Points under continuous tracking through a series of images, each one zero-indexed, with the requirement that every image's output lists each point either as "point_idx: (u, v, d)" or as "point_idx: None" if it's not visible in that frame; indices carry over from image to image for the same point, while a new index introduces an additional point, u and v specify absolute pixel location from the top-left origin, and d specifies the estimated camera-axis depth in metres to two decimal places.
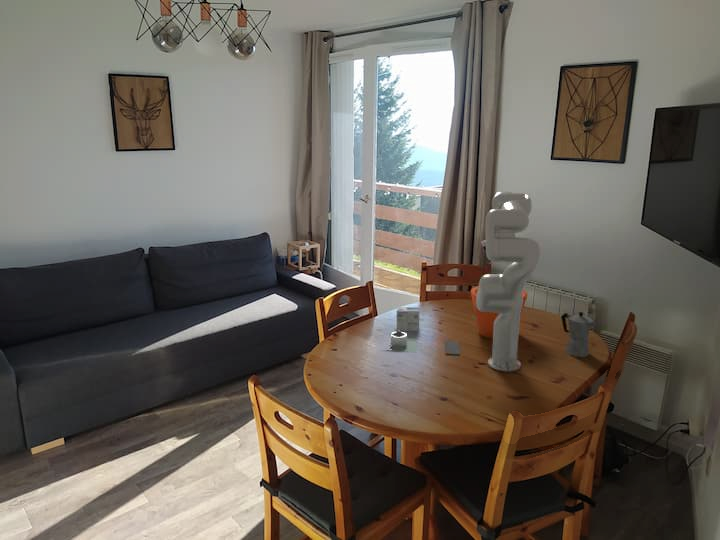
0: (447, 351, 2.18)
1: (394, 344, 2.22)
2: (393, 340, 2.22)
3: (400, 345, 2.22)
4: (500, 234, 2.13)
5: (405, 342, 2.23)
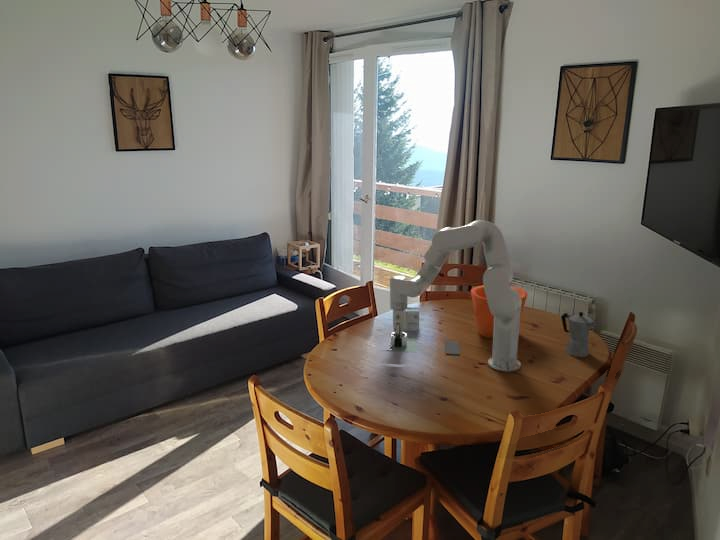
0: (447, 351, 2.18)
1: None
2: (393, 340, 2.22)
3: None
4: None
5: (405, 342, 2.23)
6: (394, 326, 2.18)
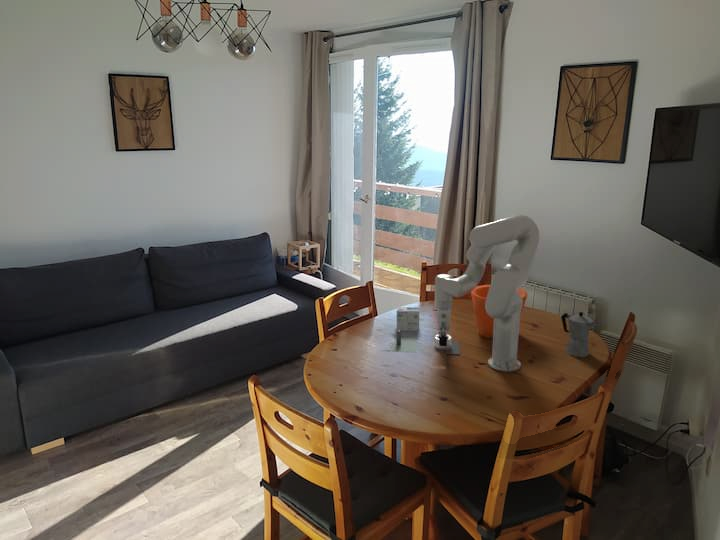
0: (447, 351, 2.18)
1: (439, 347, 2.20)
2: (438, 343, 2.20)
3: (445, 348, 2.19)
4: None
5: (450, 345, 2.20)
6: (439, 324, 2.15)
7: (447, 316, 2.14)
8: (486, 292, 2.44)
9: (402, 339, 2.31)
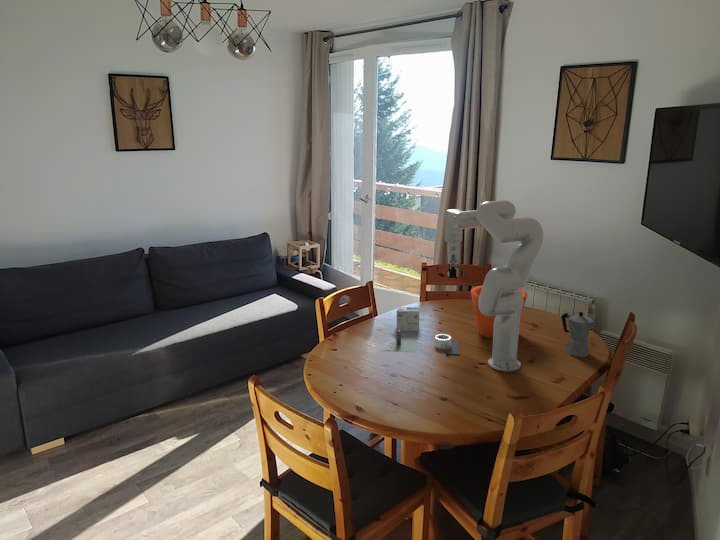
0: (447, 351, 2.18)
1: (439, 347, 2.20)
2: (438, 343, 2.20)
3: (445, 348, 2.19)
4: None
5: (450, 345, 2.20)
6: (449, 256, 2.25)
7: (457, 248, 2.24)
8: None
9: (402, 339, 2.31)
